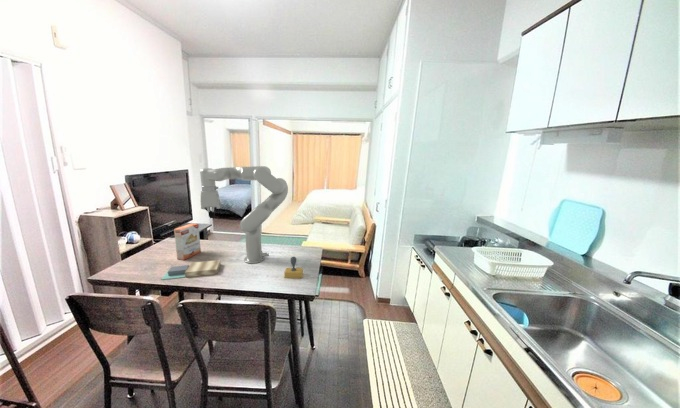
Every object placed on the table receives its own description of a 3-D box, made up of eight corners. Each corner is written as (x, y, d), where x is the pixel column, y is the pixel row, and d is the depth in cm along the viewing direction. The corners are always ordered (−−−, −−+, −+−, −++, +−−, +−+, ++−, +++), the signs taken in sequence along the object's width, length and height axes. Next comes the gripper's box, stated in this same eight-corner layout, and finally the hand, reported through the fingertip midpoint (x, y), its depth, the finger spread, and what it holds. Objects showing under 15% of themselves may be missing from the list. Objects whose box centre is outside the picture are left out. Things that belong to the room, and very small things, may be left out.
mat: (190, 267, 144) (190, 266, 144) (184, 277, 133) (184, 276, 133) (169, 269, 141) (169, 268, 141) (161, 279, 130) (161, 279, 130)
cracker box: (184, 260, 152) (180, 229, 148) (176, 259, 154) (172, 228, 149) (201, 252, 166) (198, 223, 161) (194, 250, 167) (191, 222, 162)
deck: (220, 264, 149) (220, 260, 148) (216, 273, 138) (216, 269, 137) (191, 267, 144) (191, 262, 143) (185, 277, 133) (184, 272, 132)
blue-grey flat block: (189, 268, 142) (189, 264, 141) (186, 273, 136) (186, 269, 135) (172, 270, 139) (171, 266, 138) (168, 275, 133) (167, 271, 133)
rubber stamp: (284, 278, 135) (283, 258, 133) (286, 273, 141) (285, 254, 138) (301, 278, 136) (301, 259, 133) (302, 273, 141) (302, 254, 139)
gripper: (223, 187, 150) (225, 215, 154) (196, 188, 146) (199, 216, 150) (221, 189, 143) (224, 218, 147) (193, 190, 139) (196, 220, 143)
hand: (211, 217), depth 148 cm, fingers closed
